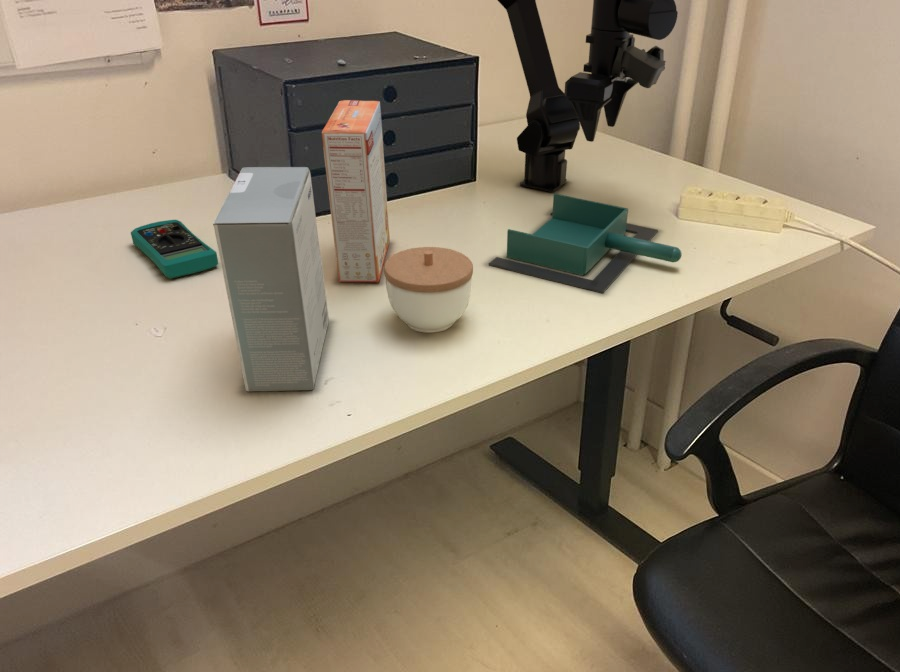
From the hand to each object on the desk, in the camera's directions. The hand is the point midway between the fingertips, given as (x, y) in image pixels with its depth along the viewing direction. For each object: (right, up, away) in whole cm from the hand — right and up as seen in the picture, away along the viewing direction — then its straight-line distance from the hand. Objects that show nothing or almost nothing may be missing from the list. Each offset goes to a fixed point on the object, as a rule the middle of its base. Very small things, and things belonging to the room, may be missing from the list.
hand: (600, 133), depth 128 cm
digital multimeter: (-62, -22, -13) cm, 67 cm away
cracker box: (-35, -22, -12) cm, 44 cm away
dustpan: (-1, -20, -8) cm, 22 cm away
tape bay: (-4, -19, -6) cm, 21 cm away
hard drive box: (-40, -36, -34) cm, 64 cm away
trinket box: (-25, -32, -26) cm, 48 cm away
